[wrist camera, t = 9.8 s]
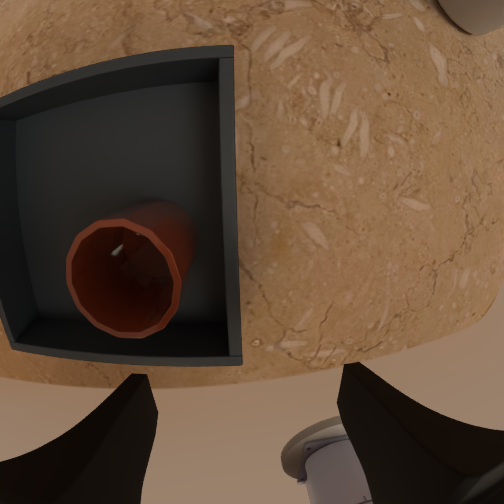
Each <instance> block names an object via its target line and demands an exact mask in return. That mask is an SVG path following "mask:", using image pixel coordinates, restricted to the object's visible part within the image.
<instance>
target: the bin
mask: <svg viewBox="0 0 504 504" xmlns="http://www.w3.org/2000/svg"><path fill="white" fill-rule="evenodd" d="M151 200H165V201H169V202H172V203H174V204H177V205H178V206H180V207H181V208H183V209H184V210H185V211H186V212H187V213H188V214H189V215H190V217H191V218H192V219H193V221H194V223H195V225H196V228H197V231H198V235H199V248H198V253H197V259H196V261H195V264H194V267H193V269H192V272H191V275H190V277H189V280H188V283H187V286H186V288H185V291H184V294H183V297H182V299H181V302H180V305H179V308H178V310H177V311H176V313H175V314H174V315H173V317H172V318H171V319H170V321H169V322H168V324H167V325H166V326H165V328H164V329H162V330H159V331H157V332H155V333H153V334H151V335H148V336H146V337H144V338H121V337H116V336H114V335H112V334H110V333H108V332H105V331H103V330H101V329H99V328H97V327H95V326H94V325H93V324H92V323H91V322H90V321H89V320H88V319H87V318H86V317H85V316H84V315H83V314H82V312H81V311H80V310H79V309H78V308H77V307H76V304H75V302H74V300H73V297H72V295H71V293H70V290H69V288H68V285H67V280H66V258H67V255H68V253H69V250H70V248H71V246H72V244H73V242H74V240H75V238H76V236H77V234H79V233H80V232H81V231H83V230H84V229H86V228H87V227H88V226H90V225H91V224H93V223H94V222H96V221H97V220H100V219H102V218H104V217H107V216H109V215H111V214H114V213H116V212H119V211H121V210H124V209H126V208H129V207H131V206H134V205H136V204H139V203H141V202H144V201H151ZM0 318H1V321H2V324H3V327H4V329H5V332H6V335H7V338H8V340H9V343H10V345H11V348H12V349H13V350H17V351H23V352H28V353H34V354H40V355H46V356H52V357H59V358H67V359H74V360H83V361H92V362H103V363H114V364H129V365H147V366H184V367H203V366H241V365H242V364H243V359H242V337H241V313H240V288H239V260H238V230H237V195H236V154H235V101H234V45H217V46H201V47H189V48H179V49H170V50H163V51H156V52H149V53H143V54H137V55H132V56H127V57H122V58H117V59H113V60H108V61H104V62H100V63H96V64H92V65H88V66H85V67H81V68H78V69H74V70H71V71H68V72H65V73H62V74H59V75H56V76H53V77H50V78H47V79H44V80H41V81H39V82H36V83H34V84H31V85H29V86H26V87H24V88H21V89H19V90H17V91H14V92H12V93H10V94H7V95H5V96H3V97H1V98H0Z"/></svg>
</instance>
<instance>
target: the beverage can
mask: <svg viewBox="0 0 504 504" xmlns="http://www.w3.org/2000/svg"><path fill="white" fill-rule="evenodd" d="M438 2H439V4H440V6H441V7H442V9H443V10H444V12H445V13H446V14H447V15H448V16H449V18H450V19H451V20H452V21H453V22H454V23H456V24H457V25H458V26H459V27H461V28H462V29H464V30H465V31H467V32H469V33H471V34H473V35H483V34H486V33H489V32H491V31H494V30H497V29H500V28H502V27H504V0H438Z"/></svg>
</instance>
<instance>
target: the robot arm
mask: <svg viewBox="0 0 504 504" xmlns="http://www.w3.org/2000/svg"><path fill="white" fill-rule="evenodd" d="M337 405H338V409H339V413H340V416H341V420H342V423H343V426H344V428H345V430H346V433H347V434H346V435H341V436H336V437H331V438H325V439H319V440H313V441H308V442H306V443H305V444H304V448H303V453H302V459H301V464H300V469H299V474H298V479H297V483H298V484H306V487H307V490H308V495H309V499H310V503H311V504H504V431H501V430H493V429H488V428H483V427H478V426H474V425H470V424H466V423H463V422H460V421H457V420H455V419H452V418H449V417H447V416H444V415H441V414H440V413H438V412H435V411H433V410H431V409H429V408H427V407H425V406H423V405H421V404H420V403H418V402H416V401H415V400H413V399H411V398H409V397H408V396H406V395H405V394H403V393H402V392H400V391H399V390H397V389H396V388H394V387H393V386H391V385H390V384H389V383H387V382H386V381H384V380H383V379H382V378H380V377H379V376H378V375H376V374H375V373H374V372H372V371H371V370H370V369H368V368H367V367H365V366H364V365H363V364H361V363H360V362H356V363H349V364H344V368H343V373H342V379H341V384H340V390H339V394H338V399H337ZM157 419H158V410H157V407H156V404H155V400H154V397H153V394H152V390H151V387H150V383H149V380H148V376H147V374H133V373H132V374H131V375H130V376H129V377H128V378H127V379H126V380H125V381H124V382H123V383H122V384H121V385H120V386H119V387H118V388H117V389H116V390H115V391H114V392H113V393H112V394H111V395H110V396H108V397H107V398H106V399H105V400H104V401H103V402H102V403H101V404H100V405H99V406H98V407H97V408H96V409H95V410H93V411H92V412H91V413H90V414H89V415H88V416H86V417H85V418H84V419H83V420H82V421H80V422H79V423H78V424H77V425H75V426H74V427H73V428H71V429H70V430H68V431H67V432H65V433H64V434H63V435H61V436H59V437H58V438H56V439H54V440H52V441H50V442H49V443H47V444H45V445H43V446H41V447H39V448H37V449H35V450H33V451H31V452H28V453H26V454H23V455H21V456H18V457H15V458H12V459H9V460H5V461H2V462H0V504H140V503H141V493H142V486H143V481H144V477H145V473H146V468H147V465H148V461H149V457H150V453H151V450H152V446H153V442H154V438H155V434H156V427H157Z"/></svg>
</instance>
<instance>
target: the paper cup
mask: <svg viewBox="0 0 504 504" xmlns="http://www.w3.org/2000/svg"><path fill="white" fill-rule="evenodd" d="M198 248H199V235H198V231H197V228H196V225H195V223H194V221H193V219H192V218H191V217H190V215H189V214H188V213H187V212H186V211H185V210H184V209H183V208H181V207H180V206H178V205H177V204H174V203H172V202H169V201H165V200H151V201H144V202H141V203H139V204H136V205H134V206H131V207H129V208H126V209H124V210H121V211H119V212H116V213H114V214H111V215H109V216H107V217H104V218H102V219H100V220H97V221H96V222H94V223H93V224H91V225H90V226H88V227H87V228H86V229H84V230H83V231H81V232H80V233H79V234H77V236H76V238H75V240H74V242H73V244H72V246H71V248H70V250H69V253H68V255H67V258H66V280H67V285H68V288H69V290H70V293H71V295H72V297H73V300H74V302H75V304H76V307H77V308H78V309H79V310H80V311H81V312H82V314H83V315H84V316H85V317H86V318H87V319H88V320H89V321H90V322H91V323H92V324H93V325H94V326H95V327H97V328H99V329H101V330H103V331H105V332H108V333H110V334H112V335H114V336H116V337H121V338H144V337H146V336H148V335H151V334H153V333H155V332H157V331H159V330H162V329H164V328H165V326H166V325H167V324H168V322H169V321H170V319H171V318H172V317H173V315H174V314H175V313H176V311H177V310H178V308H179V305H180V302H181V299H182V297H183V294H184V291H185V288H186V286H187V283H188V280H189V277H190V275H191V272H192V269H193V267H194V264H195V261H196V259H197V253H198Z"/></svg>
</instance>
